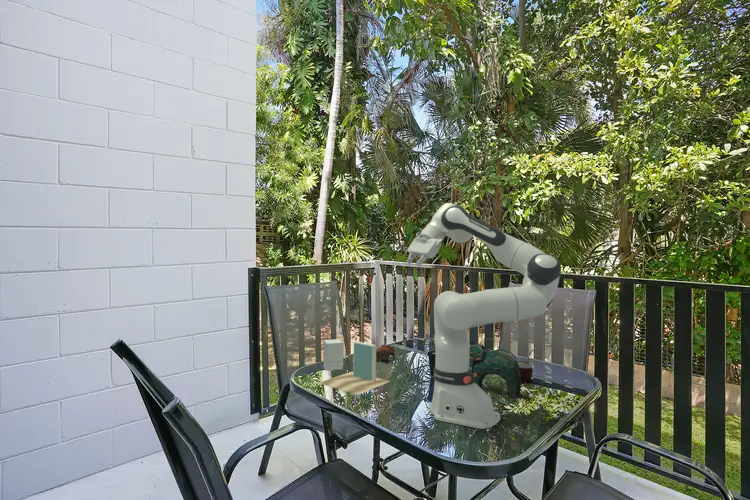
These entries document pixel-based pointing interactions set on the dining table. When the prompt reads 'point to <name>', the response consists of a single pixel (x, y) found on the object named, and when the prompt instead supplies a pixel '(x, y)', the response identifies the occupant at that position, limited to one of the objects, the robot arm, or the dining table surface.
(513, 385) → the ceramic cat
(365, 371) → the tile
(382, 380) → the board
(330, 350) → the supplement box
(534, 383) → the dining table surface
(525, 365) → the mate gourd
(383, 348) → the brown animal figurine
